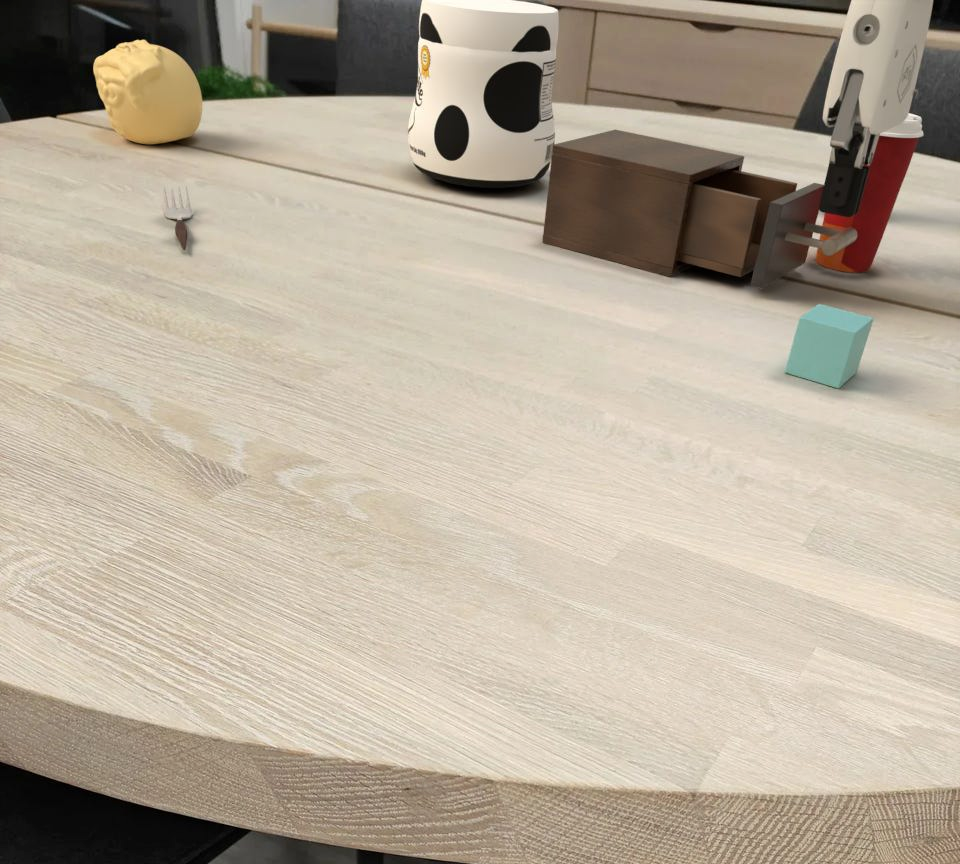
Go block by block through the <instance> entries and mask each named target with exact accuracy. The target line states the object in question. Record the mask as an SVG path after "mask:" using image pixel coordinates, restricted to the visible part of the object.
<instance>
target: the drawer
mask: <svg viewBox="0 0 960 864" xmlns="http://www.w3.org/2000/svg"><path fill="white" fill-rule="evenodd" d="M797 187H798V182H793V181H790V180H784V179H779V178H776V177H771V176H766V175H762V174H761V175H760V174H757V173H751V172H747V171H742V170H741V171H738V170H734V169H729V170H726V171H724V172H721V173H718V174H715V175H712V176H710V177H707V178H704V179H701V180H698V181H696V182H693V183H692V186H691V191H690V197H689V202H688V207H687V212H686V218H685V223H684V228H683V233H682V239H681V244H680V249H679V254H678V260H677V261H680V262H684V263H688V264H692V265H694V267H700V268H703V269H708V270H711V271H715V272H718V273H721V274H723V273H724V274H726V275H729V276H734V277H737V278H743V276H745V275H748V274H749V273H751V272H752V277H751V281H750V287H754V288H758V289H761V290H762V289H764V288H766V287H768V286H769V285H771V284H773V283H774V282H776V281H777V280H779V279H781V278H782V277H784V276H786V275H789V274H790V273H791V272H792V271H794V270H796V269H798V268H799V267H801V266H803V265H804V264H805V263H806V261H807V257H808V254H809V250H810V247H812V248H816V249H818V248H820V249H821V250H822V252H823V254H824V255H826V256H831V255H833V254H835V253H836V252H838V251H840V250H841V249H843V248H845V247H846V246H848V245H849V244H851V243H853V242H854V241H855V240H856V239H857V231H856V230H855V229H854V228H851V227H849V228H847V229H845V230H843V231H842V230H837V229H833V228H829V227H824V226H822V225H820V224H817V219H818V216H819V212H820V210H819V204H820V200H821V196H822V191H823V187H824V183H823V184H822V183H817V182H813V183H811V184H807V185H806V186H804V187H801V188H799V189H797ZM814 234H819V235H820V234H823V235H827V236H832V237H831V238H829V239H827V240H826V241H823V240H819V239H820V238H819V239H818V238H816V237H815V238H814V237H813V235H814Z"/></svg>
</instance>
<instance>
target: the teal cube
mask: <svg viewBox="0 0 960 864" xmlns="http://www.w3.org/2000/svg"><path fill="white" fill-rule="evenodd" d="M873 322H874V317H871V316H868V315H864V314H859V313H856V312H851V311H848V310H845V309H842V308H841V309H840V308H837V307H833V306H829V305H825V304H822V303H818V304H816V305H815V306H814V307H813V308H811V309H809V310H808V311H806V312H805V313H804V314H803V315H801V316H799V318H798V321H797V326H796V328H795V333H794V337H793V340H792V343H791V348H790V351H789V355H788V358H787V362H786V366H785V370H784V373H785V374H788V375H792V376H795V377H797V378H798V377H799V378H802V379H806V380H808V381H812V382H815V383H818V384H822V385H825V386H829V387H832V388H836V389H841V387H842V386H844V384H845V383H847V382H848V381H849V380H850V379H851V378H852V377H853V376H854V375H855V374H857V372H858V370H859V367H860V363H861V360H862V357H863V354H864V350H865V347H866V345H867V341H868V338H869V334H870V332H871V330H872V325H873Z"/></svg>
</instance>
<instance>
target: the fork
mask: <svg viewBox="0 0 960 864" xmlns="http://www.w3.org/2000/svg"><path fill="white" fill-rule="evenodd" d="M170 193H171V208H170V206H169V203H168V197H167V191H166V186H163V197H164V198H163V199H164V201H163V202H164V216H165V217H166V218H167V219H170V220H176V223H175V227H174V234H175V236H176V238H177V240H178V242H179V244H180V246H181V248H182V250H183V251H186V249H187V240H188V235H189V232H188V228H187V226H186V224H185V223H184V221H183V220H189V219H192V216H193V212H192V207H191V202H190V198H189V192H188V187H187V186H185V203H186V208H185V207H184V204H183V203H184V202H183V199H182V194H181V189H180V187H178V205H179V206H178V208H177V205H176V200H175V196H174V190H173V186H171V192H170Z"/></svg>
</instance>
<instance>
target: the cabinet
mask: <svg viewBox="0 0 960 864" xmlns="http://www.w3.org/2000/svg"><path fill="white" fill-rule="evenodd" d="M552 153H553V154H552V159H551V162H550V167H549V168H550V169H549V178H548V188H547V195H546V205H545V215H544V224H543V232H542V233H543V234H542V241H541V242H542V243H544V244H547V245H551V246H555V247H559V248H561V249H565V250H570V251H573V252H577V253H580V254H584V255H588V256H592V257H595V258H599V259H603V260H607V261H610V262H614V263H617V264H621V265H625V266H629V267H633V268H636V269H639V270H640V269H641V270H643V271H647V272H651V273H655V274H658V275H663V276H666V277H670V278H673V277H674V276H676V275H679V274H680V273H682V272H685V271H686V270H688V269H690V268H692V267H695V265H692V264H688V263H684V262H680V261H677V260H678V254H679V249H680V244H681V239H682V233H683V228H684V223H685V218H686V212H687V207H688V202H689V197H690V191H691V186H692V183H693V182H696V181H698V180H701V179H704V178H707V177H710V176H712V175H715V174H718V173H721V172H724V171H726V170H729V169H734V170H738V171H742V169H743V165H744V161H745V156H744V155H741V154H737V153H736V154H735V153H731V152H725V151H721V150H716V149H712V148H706V147H701V146H697V145H692V144H689V143H682V142H677V141H673V140H668V139H663V138H660V137H659V138H658V137H654V136H648V135H644V134H639V133H635V132H629V131H624V130H619V129H612V130H608V131H604V132H600V133H599V132H598V133H595V134H591V135H588V136H583V137H579V138H575V139H571V140H566V141H562V142H558V143H555V144H554V145H553V149H552Z"/></svg>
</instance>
